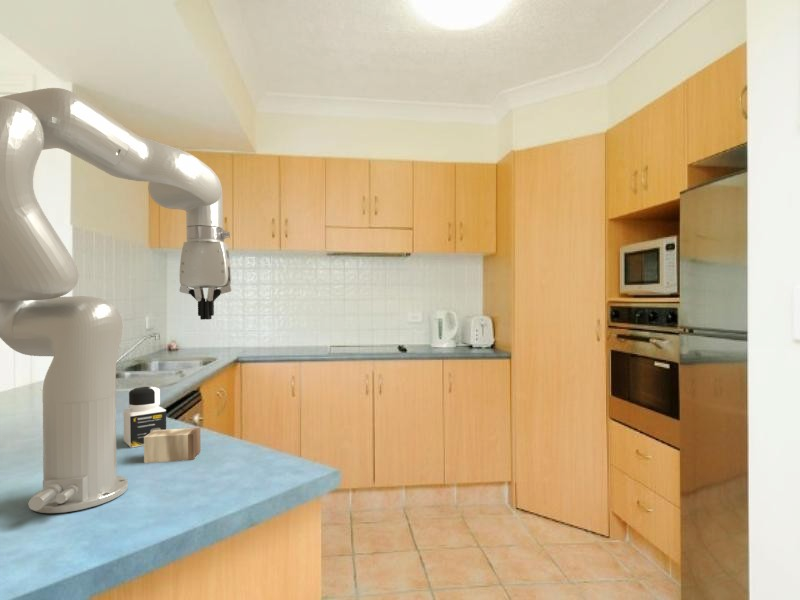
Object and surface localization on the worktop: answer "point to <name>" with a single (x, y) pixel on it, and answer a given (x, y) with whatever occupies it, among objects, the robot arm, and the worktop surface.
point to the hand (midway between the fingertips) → (206, 319)
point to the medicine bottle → (143, 415)
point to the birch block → (172, 445)
